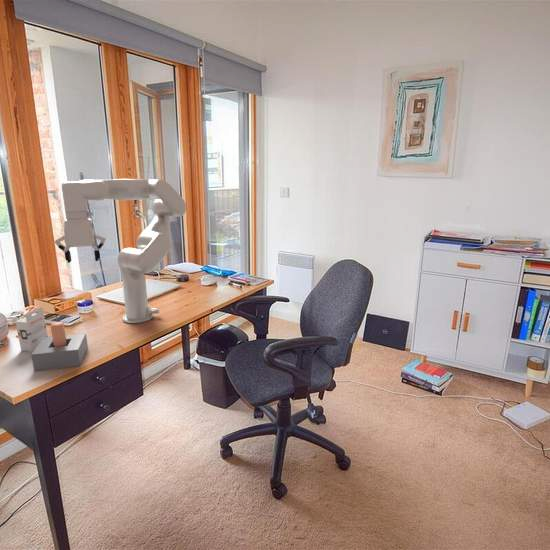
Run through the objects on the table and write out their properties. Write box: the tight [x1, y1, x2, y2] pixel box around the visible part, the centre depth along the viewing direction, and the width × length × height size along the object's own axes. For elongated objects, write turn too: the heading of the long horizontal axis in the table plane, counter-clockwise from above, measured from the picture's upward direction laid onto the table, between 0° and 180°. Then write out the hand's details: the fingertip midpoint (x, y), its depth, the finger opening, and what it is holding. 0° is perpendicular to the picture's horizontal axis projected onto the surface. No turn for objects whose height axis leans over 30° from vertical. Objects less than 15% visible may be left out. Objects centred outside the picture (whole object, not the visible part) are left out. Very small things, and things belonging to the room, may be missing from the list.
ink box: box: [14, 306, 49, 353], centre depth 145 cm, size 9×5×15 cm, turn 170°
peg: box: [50, 321, 67, 347], centre depth 136 cm, size 4×4×13 cm
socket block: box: [30, 332, 89, 372], centre depth 137 cm, size 14×14×6 cm
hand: (83, 261), depth 149 cm, fingers open, 9 cm apart
